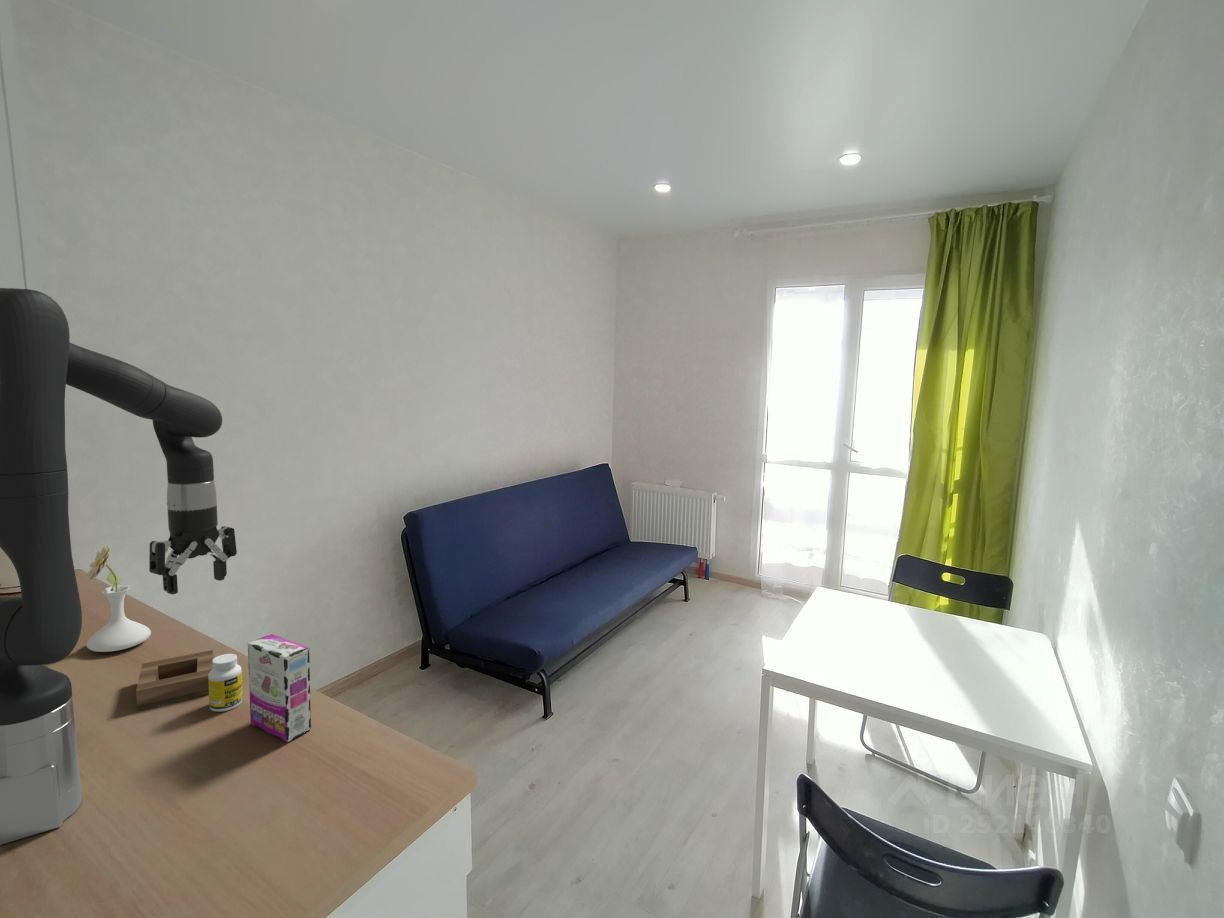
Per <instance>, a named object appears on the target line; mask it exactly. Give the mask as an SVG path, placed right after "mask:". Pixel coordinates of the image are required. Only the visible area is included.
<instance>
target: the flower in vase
mask: <svg viewBox="0 0 1224 918" xmlns="http://www.w3.org/2000/svg"><path fill="white" fill-rule="evenodd" d="M110 556H111V547H110V545H108V546H107V547H106V545H104V546H103V547H102V549H101V551H97V552H96V556H95V558H94V561H92V562H91V563H90V564H89V568H90V569H89V570H88V572H87V573H86V575H85V576H86V577H87V581H89V580H90V581H91V580H95V578H96V577H98V576H99V574H100V573H101V572H102V570H103V569H104V568H105V567H107V569H108V570H109V571H110V573H108V575H107V577H106V581H107V582H109V584H112V585H111V586H109V587H105V588H103V589H102V590H101V591H100V592H101V594H103V595H104V596H105V597H106V598H107V600H108V603H109V605H110V620H109V621H108V622H107V623H106V624H105V625H104V626H103V627H101V628H100V629H98V631H96V632H95V633H93V635H91V637H90V638H89V639H88V640H87V642H86V648H87V649H88V650H90V651H92V652H99V653H101V652H102V653H108V652H117V651H121V650H122V651H123V650H126V649H130V648H133V647H135V646H137V645H139V644H142V643H144V642H145V641H147V639H149V638H150V636H151V634H152V631H151V629H150V628H149V627H148V626H146V625H144V624H143V623H140V622H137V621H135V620H131V619H129V618H127V617H126V614H125V605H124V603H125V598H126V597H125V596H126V594H127V592H128V591H129V590H130V589H131V586H130V585H128V584H127V585H126V584H125V585H124V584H120V583H121V582H122V578H121V577H120V576H119V575H117V574H116V573H115V572H114V570H113V569H112V568H111V566H110V565H109V564H108V563H107V562H108V561H109V559H110ZM119 584H120V585H119Z"/></svg>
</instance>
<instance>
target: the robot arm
mask: <svg viewBox="0 0 1224 918" xmlns="http://www.w3.org/2000/svg"><path fill="white" fill-rule="evenodd" d="M69 327H70V326H69V322H68V319H67V316H66V314H65V312H64V310H63V309H62V307H61V306H60V304H59V303H58V302H57V301H56V300H55V299H53V298H52V297H51V296H49V295H48V294H46V293H43V292H42V291H39V290H35V289H28V288H16V287H15V288H13V287H9V288H8V287H7V288H6V287H0V549H1V551H3V553H4V554H5V555H6V556H7V557H8V558H9V560H10V562H11V563H12V565H13V567H14V569H15V572H16V574H17V577H18V581H19V586H20V595H21V596H0V846H1V845H5V844H9V843H12V842H15V841H18V840H21V839H25V838H27V837H31V836H35V835H38V834H42V833H44V832H47V831H51V830H55V829H57V828H60V827H61V826H62V825H63V822H64V821H65V820H66V819H68V818H69V817H70V816H72V815H73V814H74V813H75V812H76V811H77V810H78V808H79V807H80V806H81V804H82V800H83V799H82V788H81V787H82V785H81V776H80V765H79V756H78V755H79V753H78V744H77V743H78V742H77V736H76V735H77V733H76V722H75V721H76V720H75V711H74V710H75V708H74V698H73V688H72V681H71V679H70V677H69V676H68V675H67V674H65V673H62V672H60V671H58V670H55V669H52V668H50V667H48V666H46V665H51V664H56V663H59V662H60V661H63V660H64V659H66V658H67V657H68V656H69V655H70V654H71V653H72V652H73V651H74V649H75V648H76V646H77V644H78V641H79V639H80V635H81V633H82V632H81V631H82V625H83V612H82V606H81V605H82V604H81V599H80V593H79V588H78V583H77V578H76V576H77V575H76V571H75V566H74V561H73V553H72V543H71V542H72V541H71V532H70V530H71V529H70V518H69V517H70V516H69V478H68V477H69V474H68V472H69V471H68V462H67V453H66V452H67V451H66V409H65V408H66V404H65V403H66V400H65V399H66V388H67V387H66V386H67V385H68V386H69V387H72V388H75V389H77V390H79V391H82V392H84V393H86V394H89V395H91V396H94V397H96V398H97V399H100V400H102V401H104V402H106V403H109V404H111V405H113V406H115V407H117V408H119V409H121V410H123V411H126V412H127V413H130V414H131V415H135V416H137V417H139V418H143V419H147V420H152V427H153V429H154V433H155V436H156V438H157V441H158V443H159V446H160V448H161V451H162V453H163V456H164V458H165V461H166V472H167V473H166V475H167V476H166V477H167V487H166V506H167V522H168V526H167V527H168V532H169V538H168V540H162V541H161V540H160V541H157V540H152V541H150V543H149V556H148V557H149V560H148V561H149V565H148V567H149V568H148V570H149V573H151V574H154V575H158V576H162V585H163V586H162V587H163V590H164V592H166V593H167V594H169V595H176V594H178V593H179V588H178V575H177V572H178V571H179V570H180V568H181V566H183V565H184V564H185V562H186V561H187V560H188V559H191V560H192V559H195V558H197V557H200V556H206V555H210V556H211V557H212V558H213V559H214V560H213V561H212V563H213V565H212V566H213V579H214V580H215V581H224V580H225V577H226V576H227V574H228V572H227V569H228V567H227V561H228V560H229V559H230V558H232V557H235V556H236V555H237V553H238V551H237V541H236V533H235V529H234V527H231V526H225V525H223V526H221V527H220V528H219V529H218V528H217V526H218V525H219V522H218V501H217V499H218V498H217V489H216V485H215V472H214V471H215V470H214V458H213V454H212V453H211V452H210V451H208V450H205V449H204V448H200V447H198V446H197V445H195V442H194V440H193V438H199V439H200V438H207V437H210V436H211V437H212V436H214V435H216V433H217V432H219V430H220V429H221V427H222V426H223V415H222V413H221V411H220V409H219V408H218V407H217V405H216V404H214V403H213V402H212V401H210V400H208V399H206V398H205V397H203V396H200V395H198V394H196V393H195V394H194V393H192V392H189V391H187V390H184V389H180V388H179V387H175V386H172V385H170V384H167V383H165V382H164V381H162V380H161V379H159V378H157V377H155V376H153V375H152V374H150V373H149V372H147V371H144V370H143V369H141V368H139V367H137V366H135V365H133V364H130V363H127V362H125V361H124V360H120V359H117V358H114V357H111V356H109V355H105V354H103V353H99V352H97V351H94V350H90V349H88V348H85V347H82V346H79V345H77V344H74V343H73V342H70V339H71V338H70V328H69ZM219 538H220V540H221V547H222V549H221V548H220V547H219V545H217V544H216V542H217V540H218V539H219ZM169 548H170V549H171V551H170V553H169V554H168V556H167V558H166V553H167V552H168V549H169Z"/></svg>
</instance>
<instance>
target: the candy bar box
mask: <svg viewBox="0 0 1224 918" xmlns="http://www.w3.org/2000/svg"><path fill="white" fill-rule="evenodd" d="M247 654H248V656H247V658H248V662H247V663H248V682H249V684H248V685H249V688H248V689H249V709H250V711H249V712H250V725H251V726H253V727H254V728H257V729H259V730H261V731H263V732H265V733H267V734H269V735H272V736H273V737H275V738H277V739H280V740H282V741H284V742H286V743H289V742H292V741H294V740H295V739H297V738H299V737H300V736H299V735H301V734H302V735H304V734H305V733H304V732H306V731H308V730H309V729H311V730H312V721H311V720H312V717H311V715H312V714H311V713H312V712H311V672H310V671H311V669H310V667H311V666H310V665H311V664H310V660H311V659H310V647H309V646H306V645H303V644H300V643H298V642H295V641H292V640H289V639H286V638H285V637H281V636H278V635H276V634H273V633H271V634H268V635H265V636H262V637H260V638H258V639H255V640H253V641H250V642H248V643H247ZM309 731H310V730H309ZM309 731H308V732H309ZM303 733H304V734H303ZM306 733H307V732H306ZM302 735H301V736H302ZM298 736H299V737H298ZM296 737H297V738H296ZM293 739H294V740H293Z"/></svg>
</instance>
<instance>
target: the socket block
mask: <svg viewBox="0 0 1224 918" xmlns="http://www.w3.org/2000/svg"><path fill="white" fill-rule="evenodd" d="M214 658H215V657H214V649H211V650H207V651H206V650H205V651H200V652H196V653H190V654H185V655H178V656H175V657H170V658H165V659H158V660H155V661H154V660H153V661H149V662H145V663H144V662H143V663H142V665H141V667H140V672H139V676H138V680H137V685H136V689H135V695H136V696H135V697H136V707H137V711H141V710H145V709H146V710H147V709H150V708H156V707H160V706H163V705H168V704H171V703H176V702H180V701H185V700H189V699H193V698H198V697H203V696H208V695H209V682H208V675H209V672H210V671H211V670H212V669H213V667H212V661H213V659H214Z"/></svg>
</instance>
